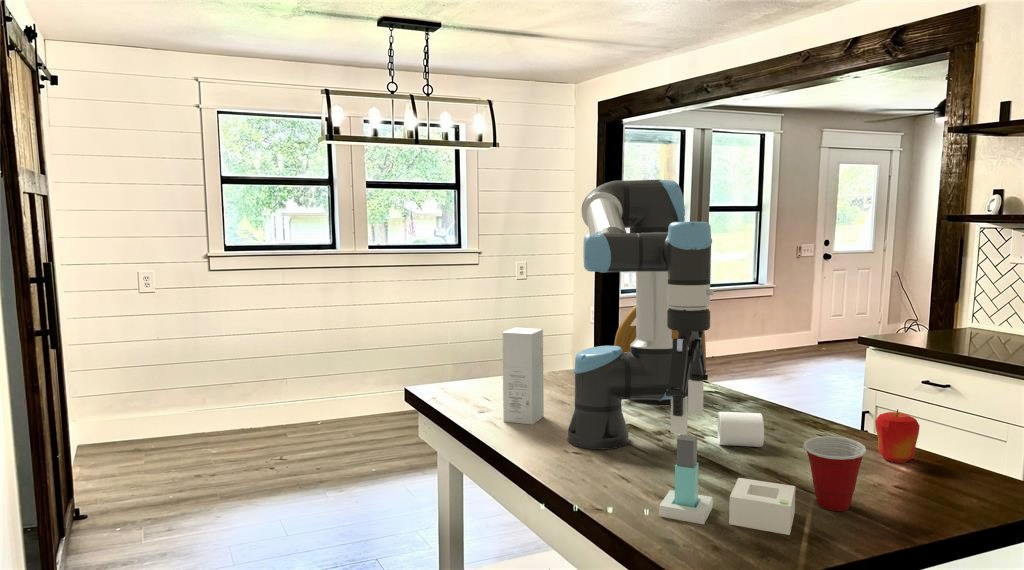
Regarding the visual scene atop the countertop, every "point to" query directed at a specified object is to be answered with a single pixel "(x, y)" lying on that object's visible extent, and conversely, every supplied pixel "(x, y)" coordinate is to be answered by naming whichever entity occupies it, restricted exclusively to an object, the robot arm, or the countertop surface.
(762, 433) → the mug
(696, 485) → the plug
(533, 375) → the tall white carton
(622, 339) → the chair
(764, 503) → the port
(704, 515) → the holster
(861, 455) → the plastic cup
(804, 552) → the countertop surface
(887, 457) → the apple
